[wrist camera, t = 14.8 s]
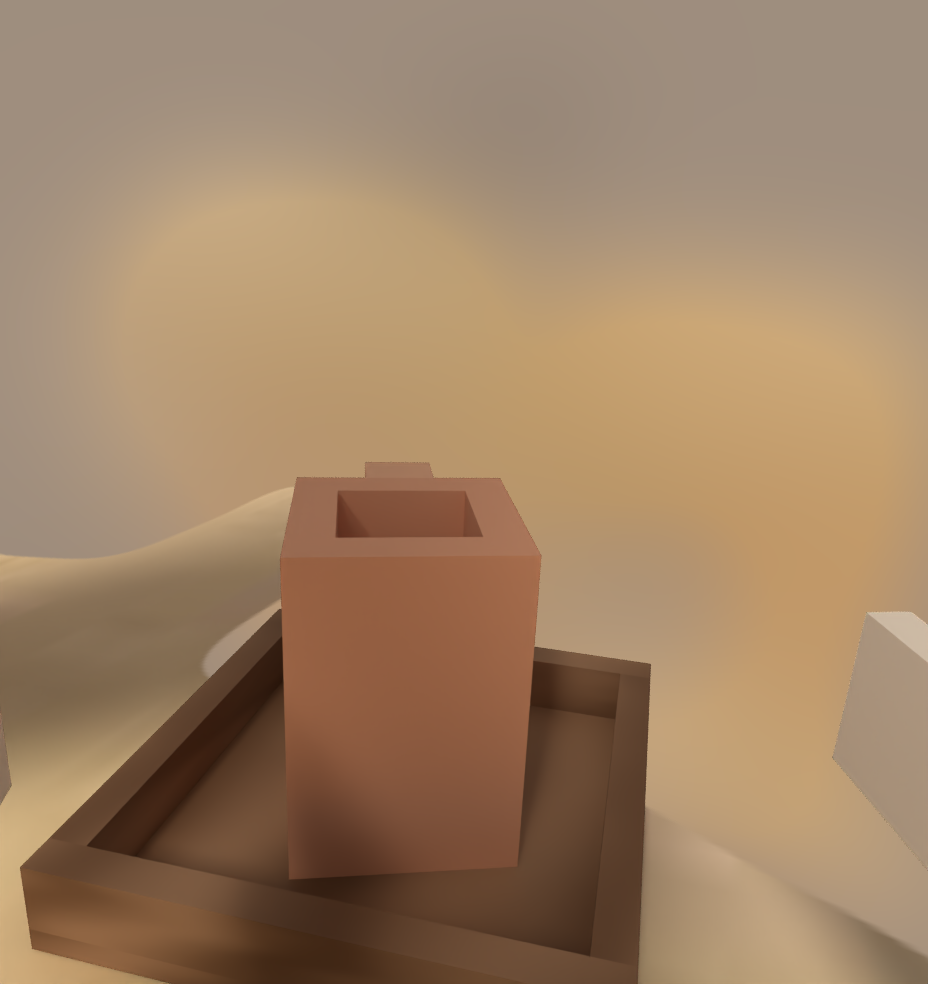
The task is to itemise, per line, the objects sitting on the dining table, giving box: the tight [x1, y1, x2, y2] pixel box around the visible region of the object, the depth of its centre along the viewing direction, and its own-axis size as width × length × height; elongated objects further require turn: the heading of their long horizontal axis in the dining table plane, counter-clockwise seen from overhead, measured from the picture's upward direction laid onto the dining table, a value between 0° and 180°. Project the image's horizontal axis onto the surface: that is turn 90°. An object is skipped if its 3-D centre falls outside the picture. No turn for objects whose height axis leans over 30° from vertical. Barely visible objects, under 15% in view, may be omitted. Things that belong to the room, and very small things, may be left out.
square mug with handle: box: [280, 462, 541, 880], centre depth 24 cm, size 6×8×9 cm
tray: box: [20, 609, 651, 984], centre depth 25 cm, size 14×14×2 cm
